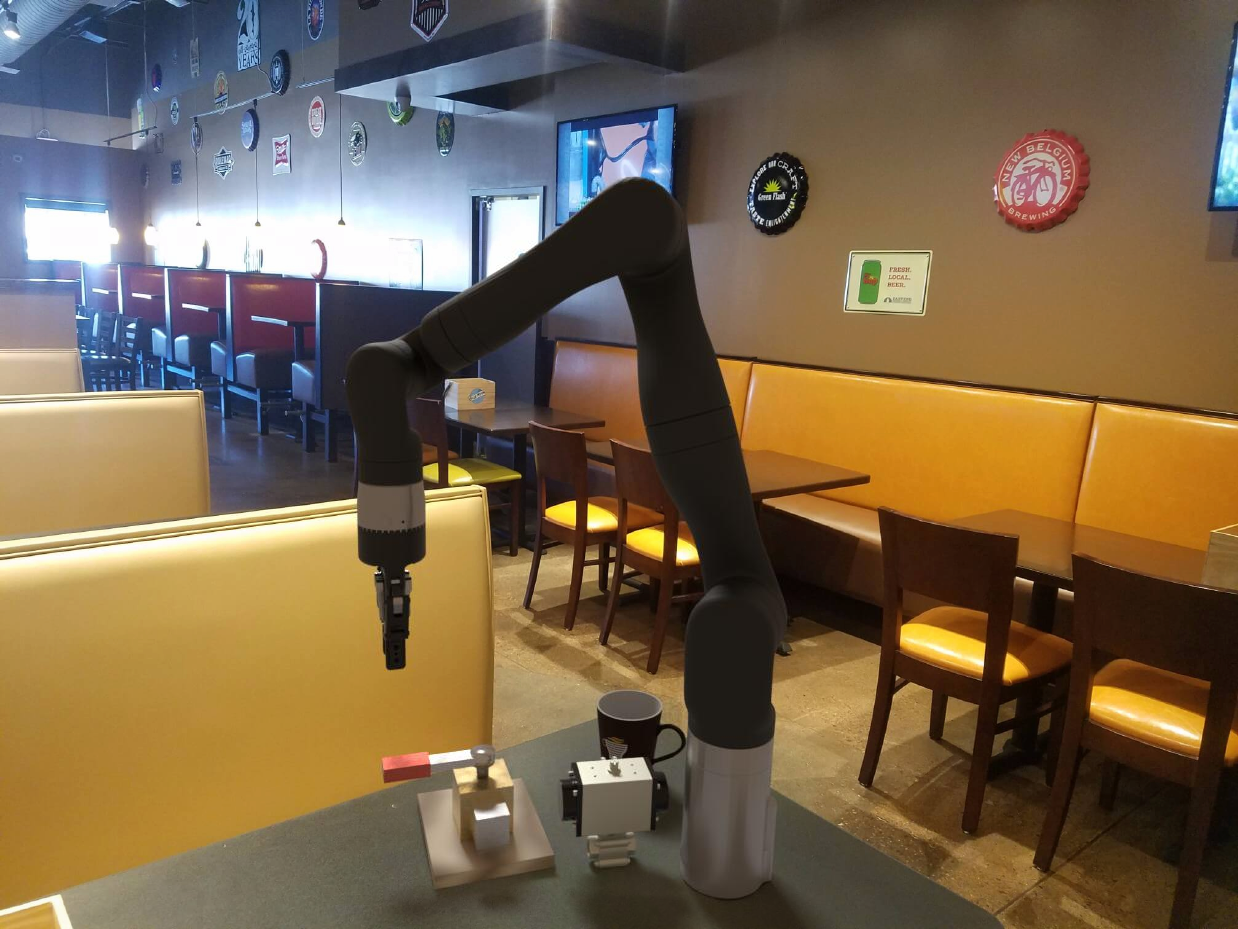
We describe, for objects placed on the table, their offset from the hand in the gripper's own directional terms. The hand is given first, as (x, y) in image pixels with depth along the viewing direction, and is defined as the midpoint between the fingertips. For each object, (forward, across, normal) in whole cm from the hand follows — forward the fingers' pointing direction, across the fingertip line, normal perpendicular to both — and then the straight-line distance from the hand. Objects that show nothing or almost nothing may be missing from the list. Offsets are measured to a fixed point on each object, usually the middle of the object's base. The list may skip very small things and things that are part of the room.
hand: (394, 660), depth 102 cm
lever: (+10, -8, -4) cm, 14 cm away
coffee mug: (+19, -2, -30) cm, 36 cm away
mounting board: (+19, -8, -9) cm, 23 cm away
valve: (+18, -8, -9) cm, 21 cm away
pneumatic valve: (+19, -16, -22) cm, 33 cm away
